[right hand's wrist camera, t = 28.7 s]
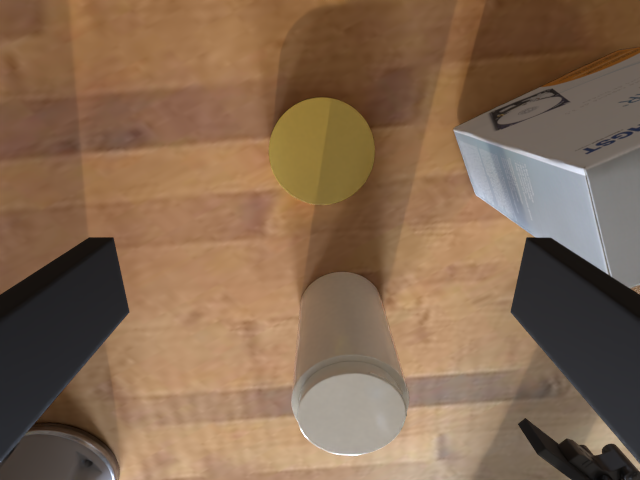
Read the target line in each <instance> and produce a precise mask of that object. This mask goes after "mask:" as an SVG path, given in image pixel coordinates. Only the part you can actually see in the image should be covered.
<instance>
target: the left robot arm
mask: <svg viewBox="0 0 640 480" xmlns="http://www.w3.org/2000/svg"><path fill="white" fill-rule="evenodd" d="M518 425H519V426H520V428H521V430H522V431H523V433H524V434H525V436H526V437H527V439H528V440H529V442H530V443H531V445H532V447H533V448H534V450H535V451H536V453H537V454H538V455H539V456H541V457H542V458H543V459H545V460H546V461H547V462H549V463H550V464H551V465H553V466H554V467H555V468H557V469H558V470H559V471H561V472H562V473H563V474H565V475H566V476H567V477H569V478H570V479H571V480H640V472H639V471H638V469H637V468H636V467H635V466H634V465H633V464H632V463H631V462H630V460H629V459H628V458H627V457H626V456H625V455H624V454H623V453H622V452H621V450H620V449H619V448H618V447H617V446H616V445H615V444H608V445H606V446H604V447H603V449H602V454H601V455H596V456H595V455H593V454H592V453H591V451H590V450H589V449H588V448H587V447H586V446H585V445H578V444H577V443H576V442H574V441H573V440H570V439H566V440H564V441H563V442H562V443H560V444H558V443H557V442H555V441H554V440H553V439H551V438H550V437H549V436H548V435H546V434H545V433H544V432H542V431H541V430H540V429H539V428H537V427H536V426H535V425H533V424H532V423H531V422H530V421H528V420H527V419H526V418H525V419H524V420H523V421H521V422H520V423H519V424H518Z"/></svg>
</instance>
